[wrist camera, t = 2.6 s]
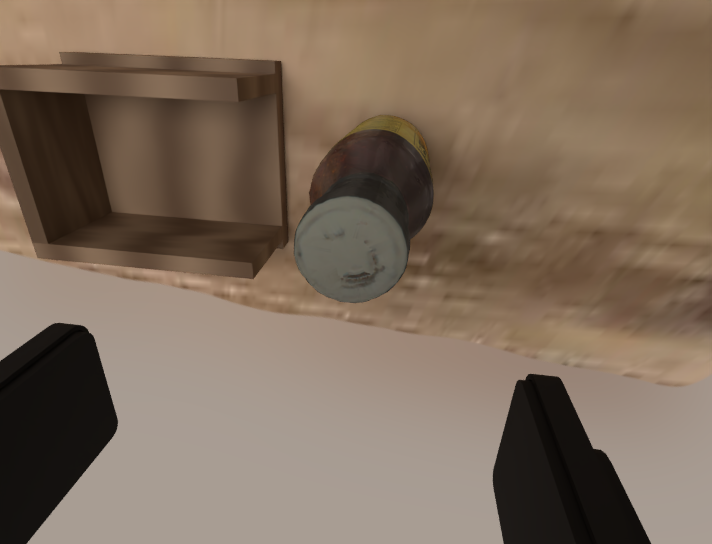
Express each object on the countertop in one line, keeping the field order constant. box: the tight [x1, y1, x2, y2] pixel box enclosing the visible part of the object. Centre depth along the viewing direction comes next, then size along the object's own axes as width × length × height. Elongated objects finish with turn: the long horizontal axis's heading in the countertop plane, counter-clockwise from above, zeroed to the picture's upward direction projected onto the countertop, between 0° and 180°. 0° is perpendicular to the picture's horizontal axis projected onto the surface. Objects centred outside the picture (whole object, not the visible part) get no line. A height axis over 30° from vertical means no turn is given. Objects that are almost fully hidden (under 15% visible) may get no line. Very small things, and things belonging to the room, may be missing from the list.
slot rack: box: [0, 52, 288, 279], centre depth 31 cm, size 16×14×8 cm
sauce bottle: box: [294, 115, 434, 303], centre depth 23 cm, size 7×6×20 cm
